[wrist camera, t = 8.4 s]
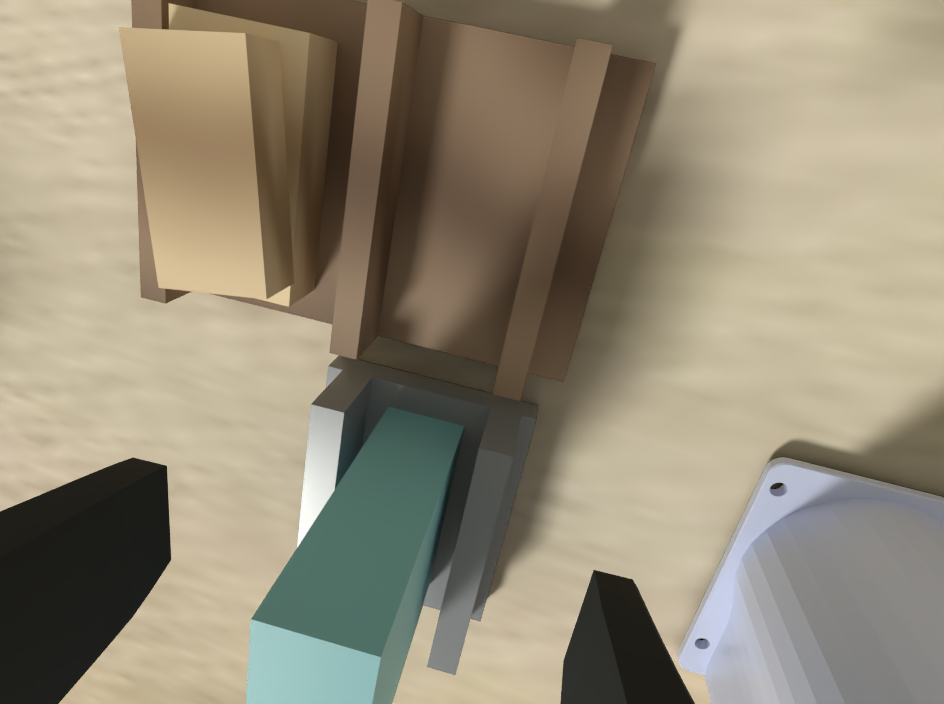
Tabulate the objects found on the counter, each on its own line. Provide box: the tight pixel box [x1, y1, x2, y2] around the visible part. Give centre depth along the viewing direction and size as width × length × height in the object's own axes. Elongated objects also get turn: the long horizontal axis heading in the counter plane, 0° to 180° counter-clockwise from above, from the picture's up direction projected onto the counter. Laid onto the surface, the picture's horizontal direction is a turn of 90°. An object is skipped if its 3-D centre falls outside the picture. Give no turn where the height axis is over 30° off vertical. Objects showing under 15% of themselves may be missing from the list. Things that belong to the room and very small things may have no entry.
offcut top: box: [119, 27, 294, 300], centre depth 15 cm, size 6×3×2 cm, turn 177°
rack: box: [132, 0, 656, 401], centre depth 16 cm, size 9×13×3 cm
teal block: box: [246, 407, 464, 704], centre depth 17 cm, size 7×3×9 cm, turn 168°
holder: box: [297, 355, 538, 675], centre depth 20 cm, size 9×7×4 cm
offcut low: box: [169, 3, 338, 307], centre depth 16 cm, size 7×4×2 cm, turn 168°
